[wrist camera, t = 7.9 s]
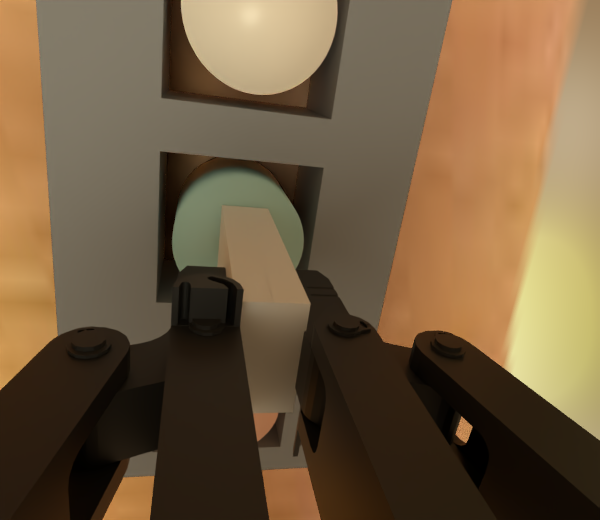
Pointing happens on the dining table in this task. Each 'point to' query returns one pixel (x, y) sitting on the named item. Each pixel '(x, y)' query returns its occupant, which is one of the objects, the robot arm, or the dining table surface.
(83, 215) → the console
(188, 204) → the button teal
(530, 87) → the dining table surface
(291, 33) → the button ivory
